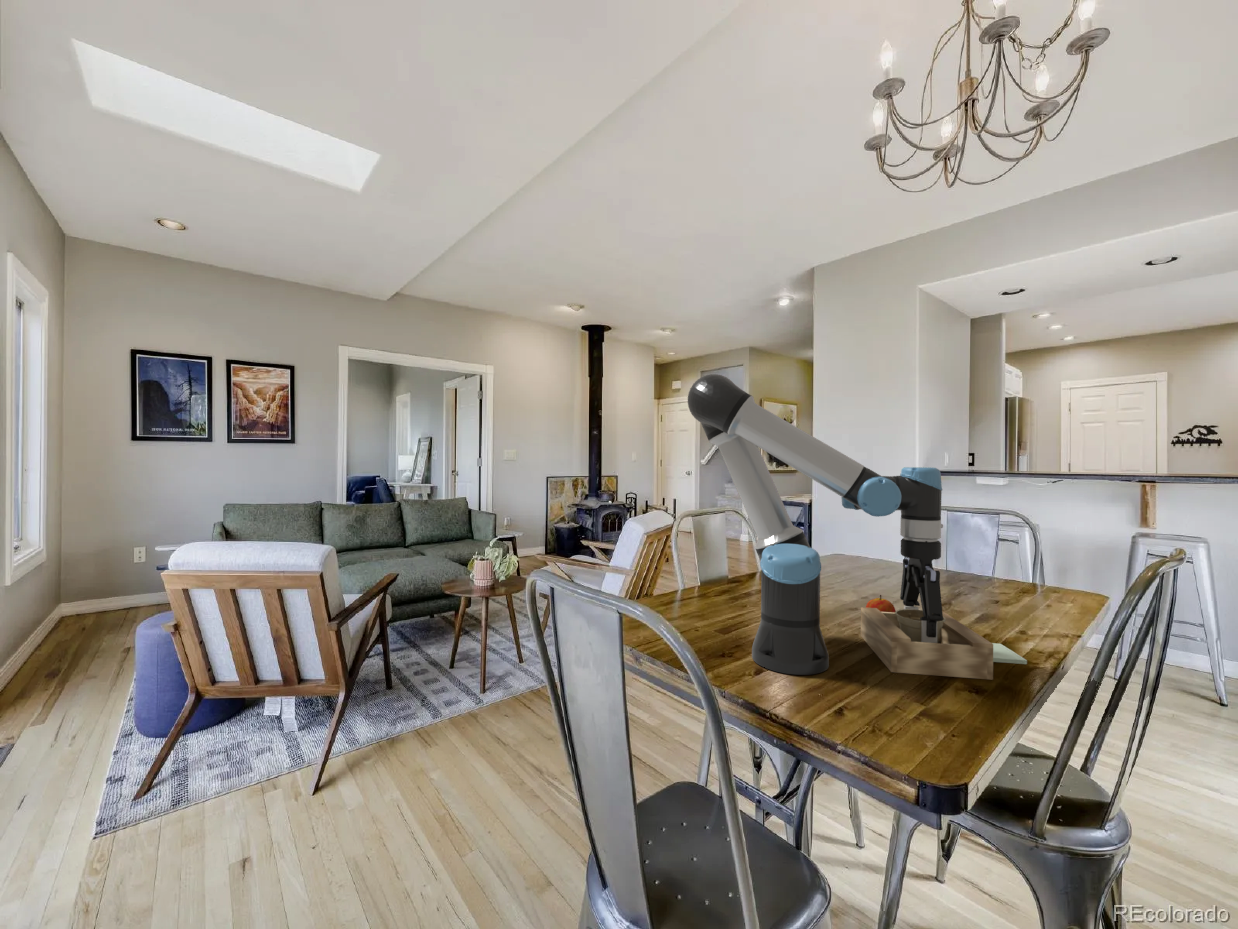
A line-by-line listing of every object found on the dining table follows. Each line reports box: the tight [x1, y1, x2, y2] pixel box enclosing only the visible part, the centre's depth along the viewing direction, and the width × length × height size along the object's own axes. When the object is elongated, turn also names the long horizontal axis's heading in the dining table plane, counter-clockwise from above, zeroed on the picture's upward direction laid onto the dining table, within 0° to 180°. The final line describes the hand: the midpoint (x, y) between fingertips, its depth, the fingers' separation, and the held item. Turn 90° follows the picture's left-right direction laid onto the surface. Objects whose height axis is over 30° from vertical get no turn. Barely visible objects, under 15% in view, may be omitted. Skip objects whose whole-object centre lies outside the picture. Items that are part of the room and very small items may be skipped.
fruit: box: [865, 594, 897, 612], centre depth 132 cm, size 7×7×8 cm
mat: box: [991, 642, 1028, 665], centre depth 113 cm, size 10×10×1 cm
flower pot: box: [895, 608, 946, 643], centre depth 112 cm, size 9×9×9 cm
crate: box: [860, 606, 994, 681], centre depth 112 cm, size 18×22×7 cm
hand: (919, 643), depth 112 cm, fingers closed on flower pot, 9 cm apart
